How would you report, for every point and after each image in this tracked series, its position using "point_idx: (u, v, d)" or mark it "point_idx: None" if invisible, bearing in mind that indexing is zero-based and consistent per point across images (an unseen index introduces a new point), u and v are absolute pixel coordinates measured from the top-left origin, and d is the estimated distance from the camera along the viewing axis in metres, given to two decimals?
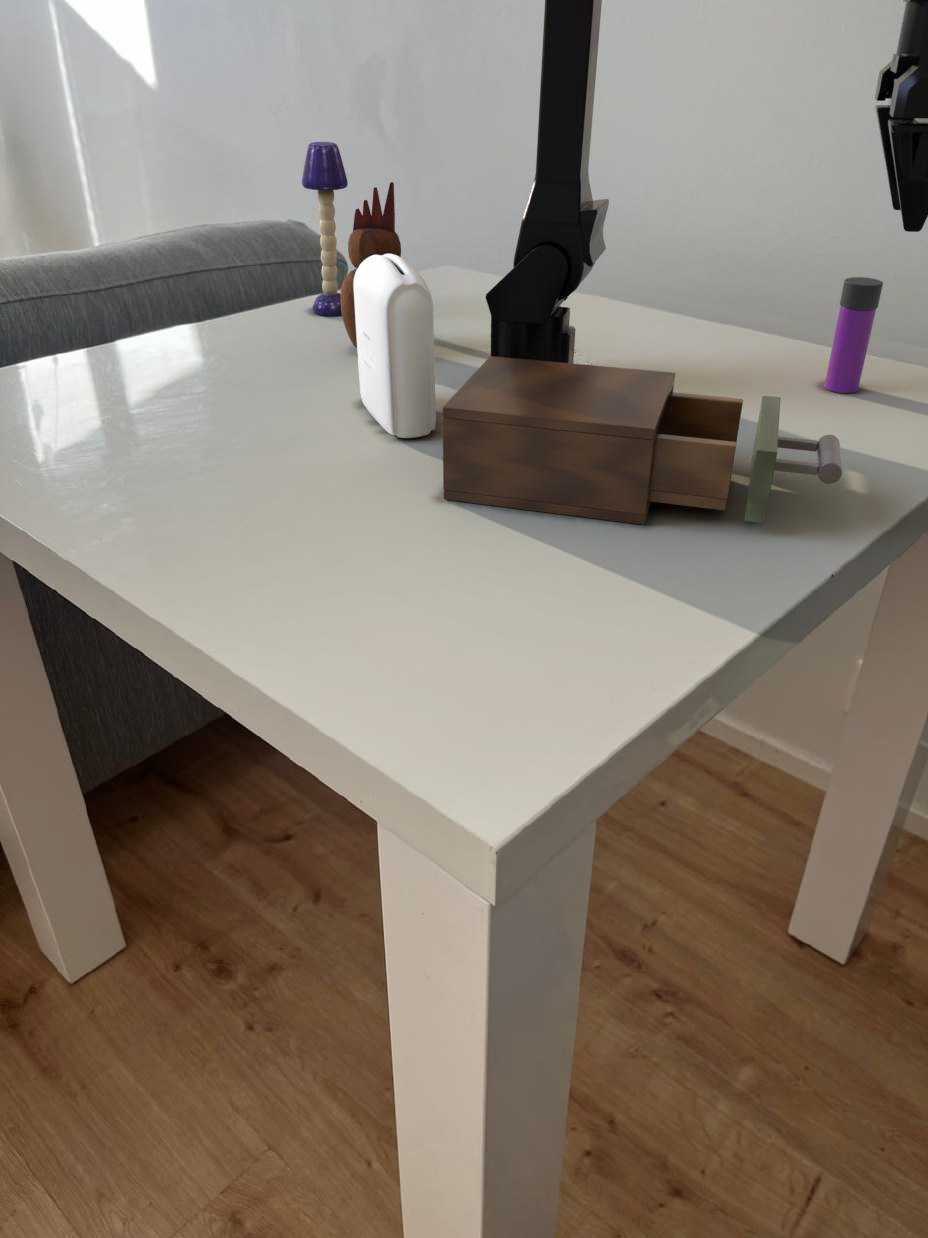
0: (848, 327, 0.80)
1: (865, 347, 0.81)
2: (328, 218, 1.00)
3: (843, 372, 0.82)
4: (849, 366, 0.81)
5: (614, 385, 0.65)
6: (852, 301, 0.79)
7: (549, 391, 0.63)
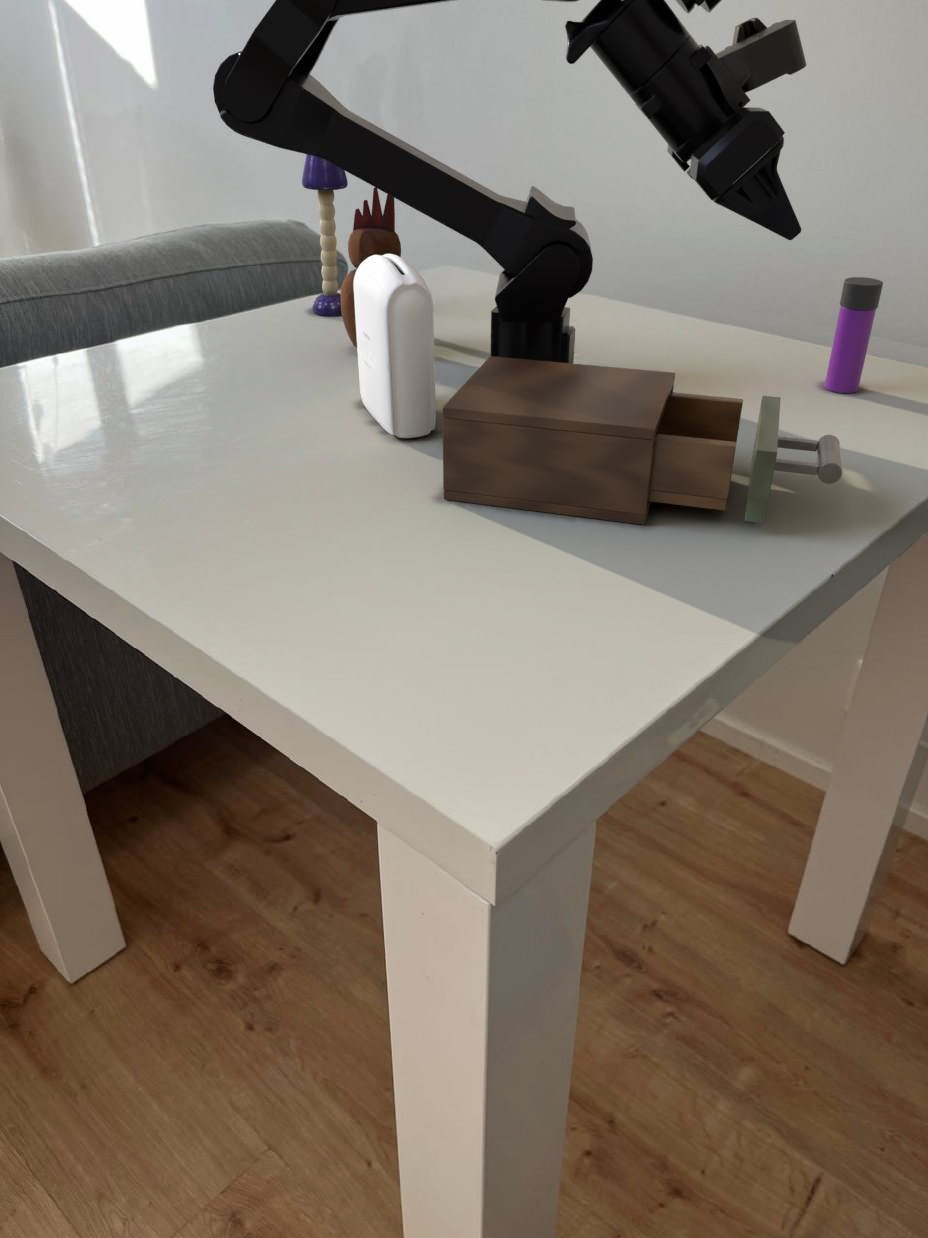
0: (848, 327, 0.80)
1: (865, 347, 0.81)
2: (328, 218, 1.00)
3: (843, 372, 0.82)
4: (849, 366, 0.81)
5: (614, 385, 0.65)
6: (852, 301, 0.79)
7: (549, 391, 0.63)
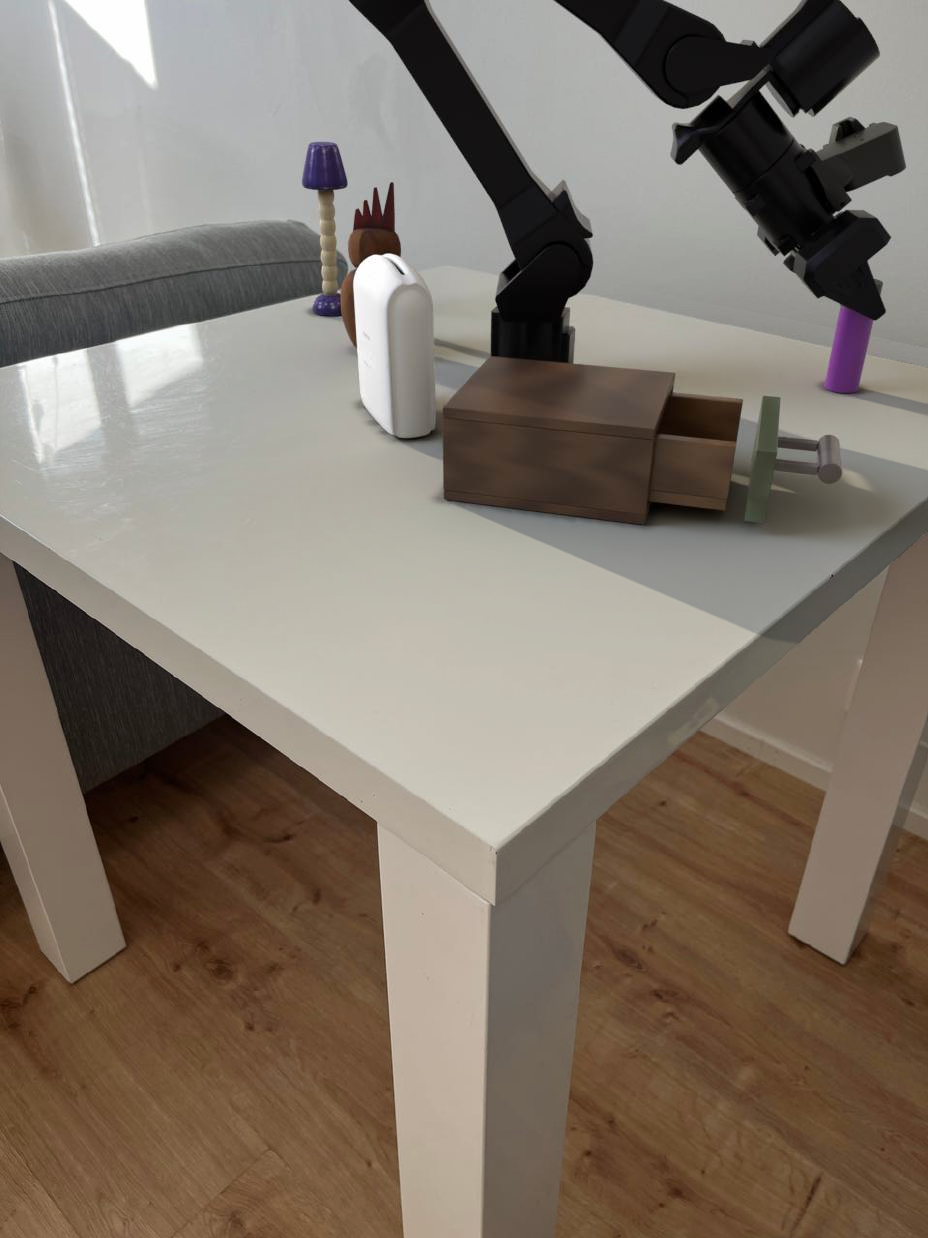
0: (848, 327, 0.80)
1: (865, 347, 0.81)
2: (328, 218, 1.00)
3: (843, 372, 0.82)
4: (849, 365, 0.81)
5: (614, 385, 0.65)
6: None
7: (549, 391, 0.63)
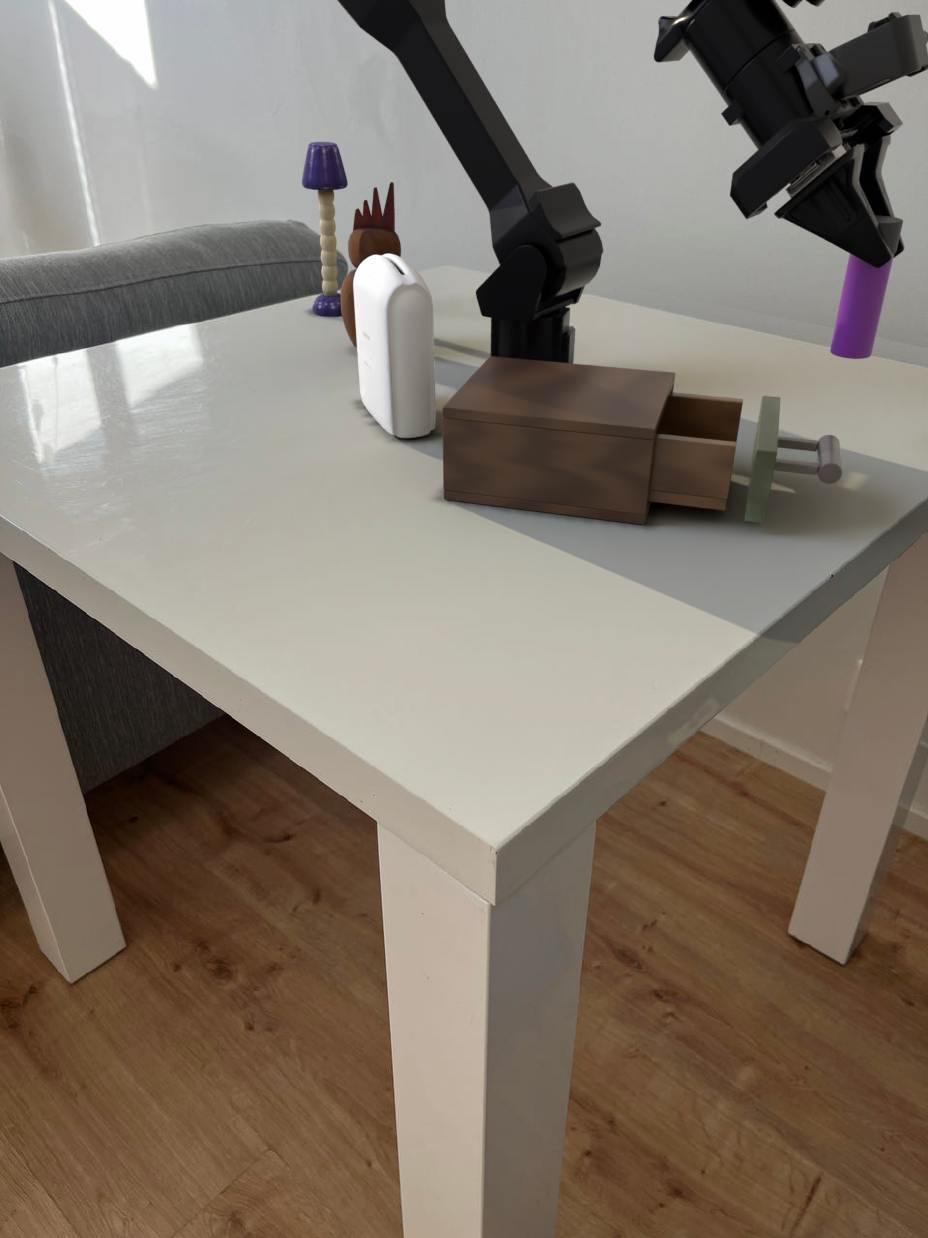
0: (850, 274, 0.65)
1: (872, 303, 0.66)
2: (328, 218, 1.00)
3: (843, 331, 0.67)
4: (849, 323, 0.67)
5: (614, 385, 0.65)
6: None
7: (549, 391, 0.63)
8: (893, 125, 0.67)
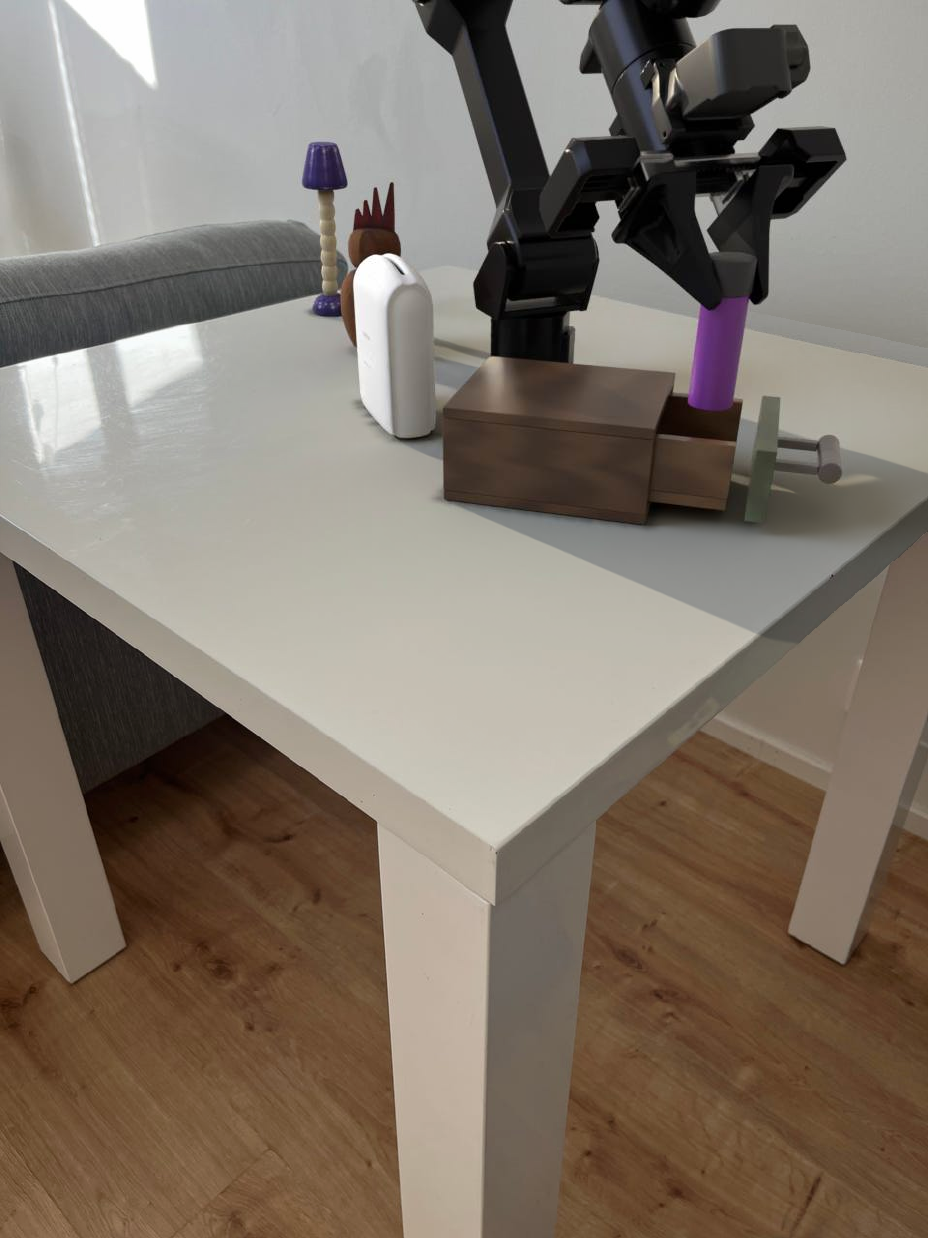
0: (699, 315, 0.59)
1: (714, 349, 0.58)
2: (328, 218, 1.00)
3: (691, 376, 0.61)
4: (695, 369, 0.60)
5: (614, 385, 0.65)
6: None
7: (549, 391, 0.63)
8: (812, 154, 0.58)
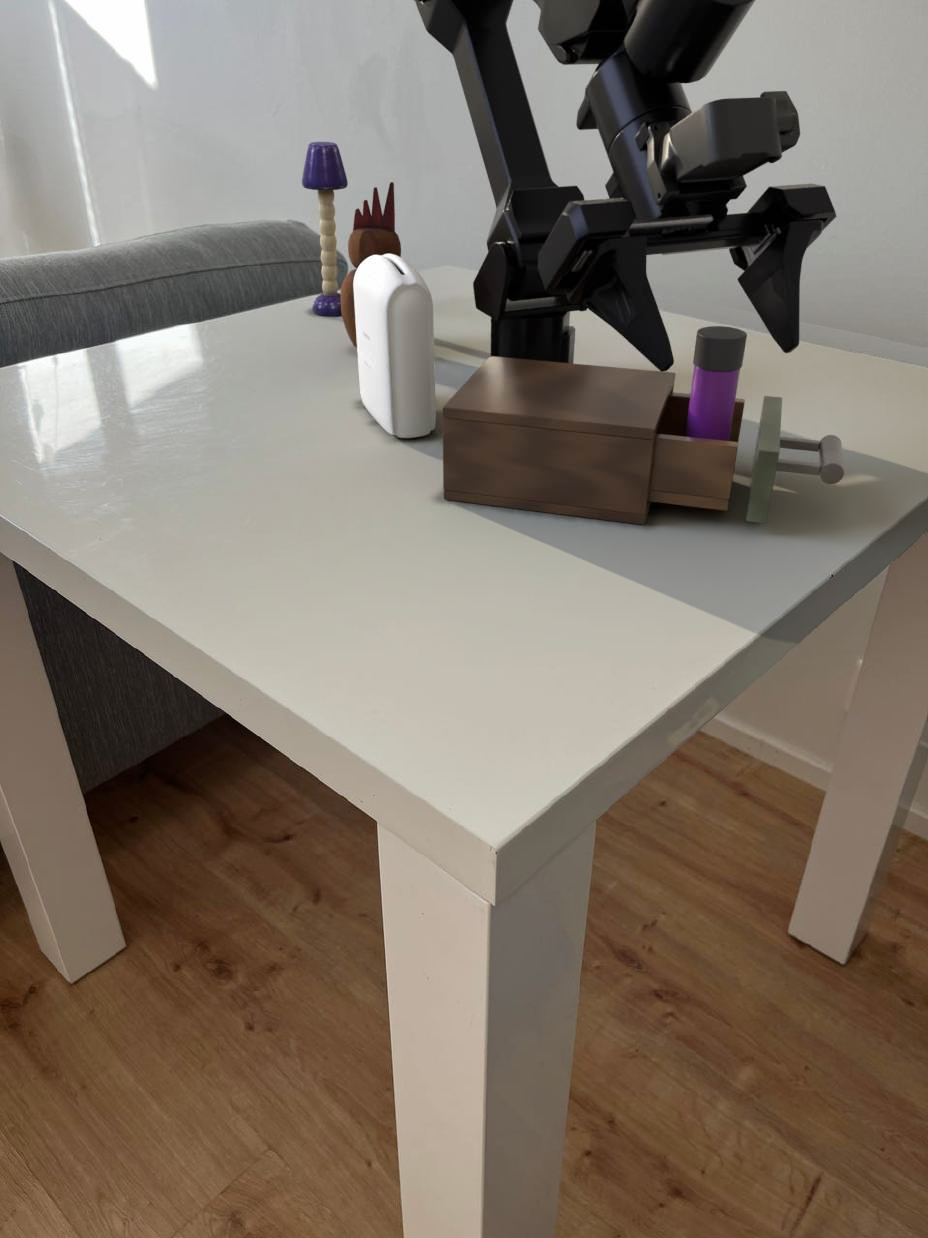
0: None
1: (706, 420, 0.61)
2: (328, 218, 1.00)
3: None
4: None
5: (614, 385, 0.65)
6: (694, 352, 0.60)
7: (549, 391, 0.63)
8: (802, 213, 0.59)
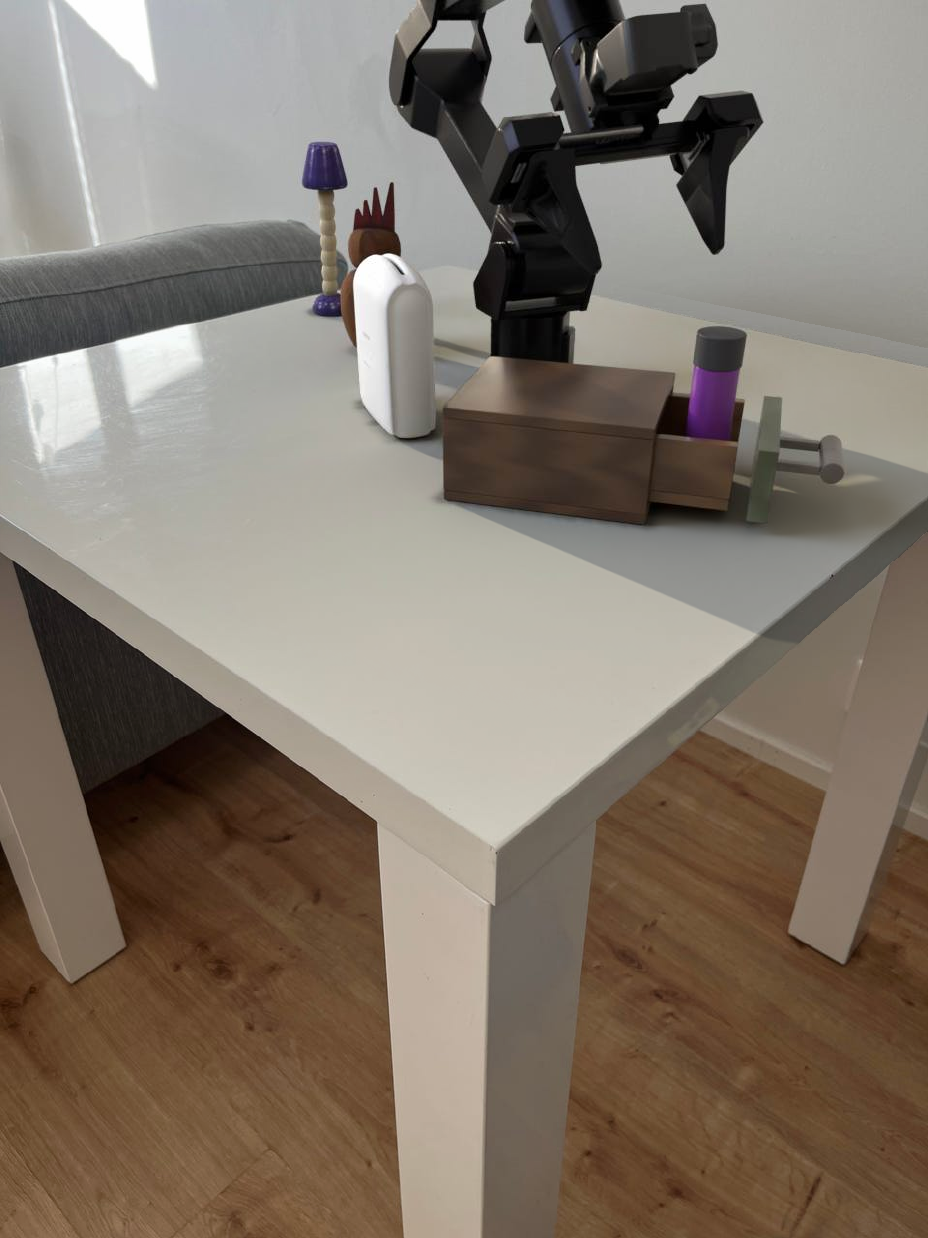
0: None
1: (706, 420, 0.61)
2: (328, 218, 1.00)
3: None
4: None
5: (614, 385, 0.65)
6: (694, 352, 0.60)
7: (549, 391, 0.63)
8: (728, 120, 0.64)
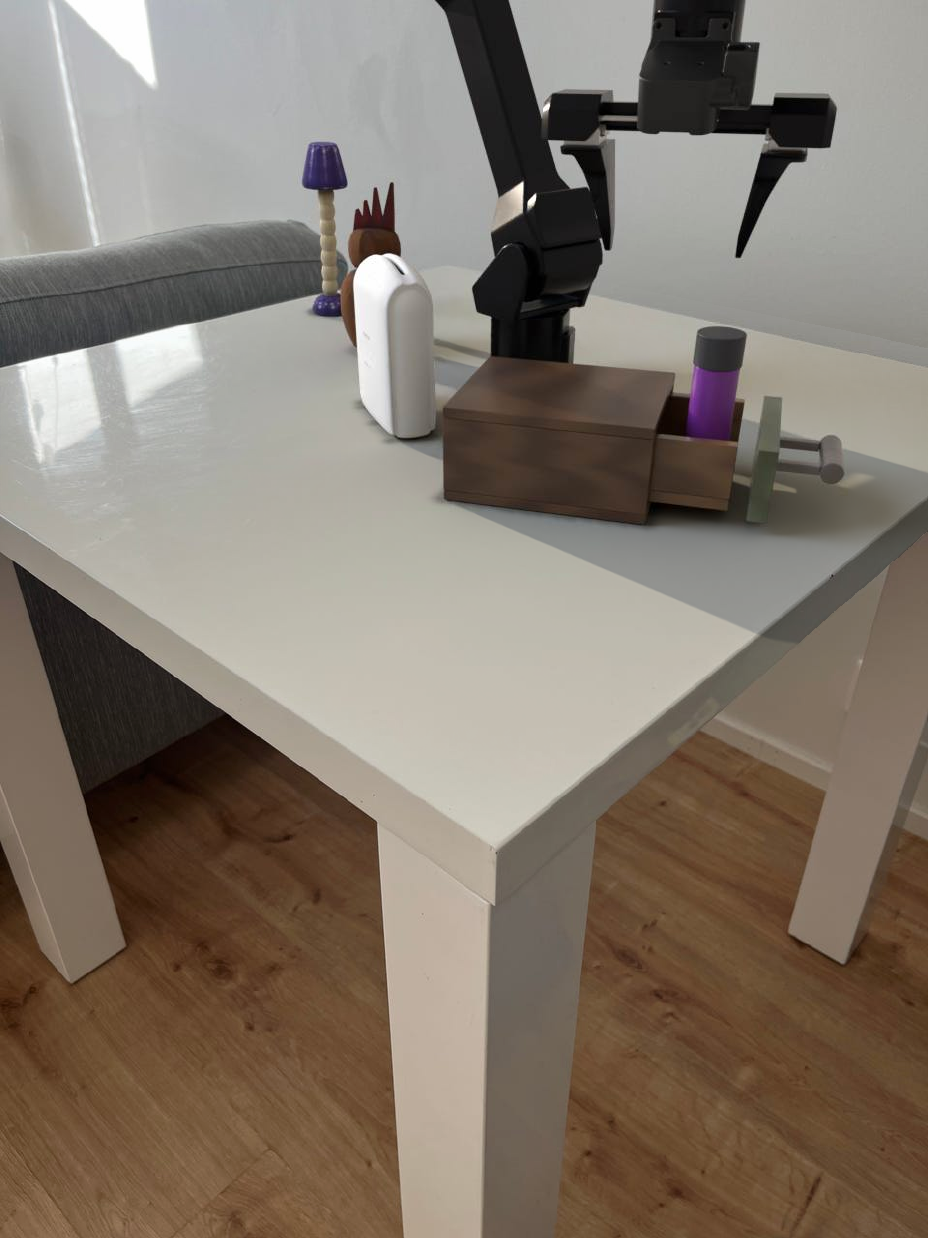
0: None
1: (706, 420, 0.61)
2: (328, 218, 1.00)
3: None
4: None
5: (614, 385, 0.65)
6: (694, 352, 0.60)
7: (549, 391, 0.63)
8: (780, 145, 0.61)
